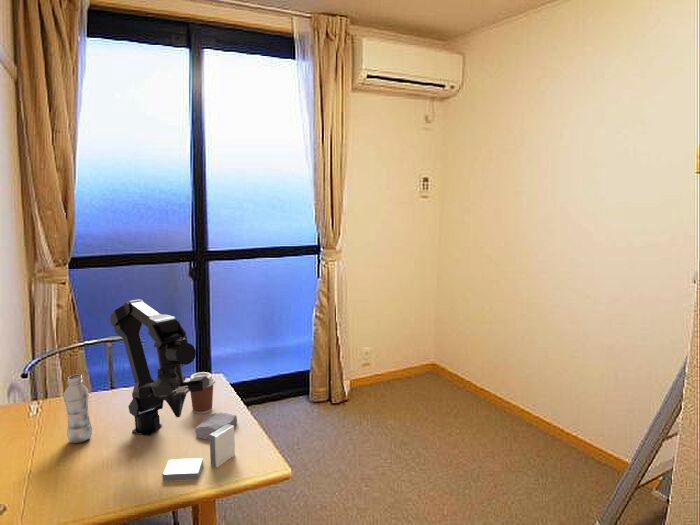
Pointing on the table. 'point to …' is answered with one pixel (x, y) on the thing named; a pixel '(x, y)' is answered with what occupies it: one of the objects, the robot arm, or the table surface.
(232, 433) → the tile
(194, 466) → the twin tile
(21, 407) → the table surface
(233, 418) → the stone block
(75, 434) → the plastic bottle
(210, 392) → the coffee cup
